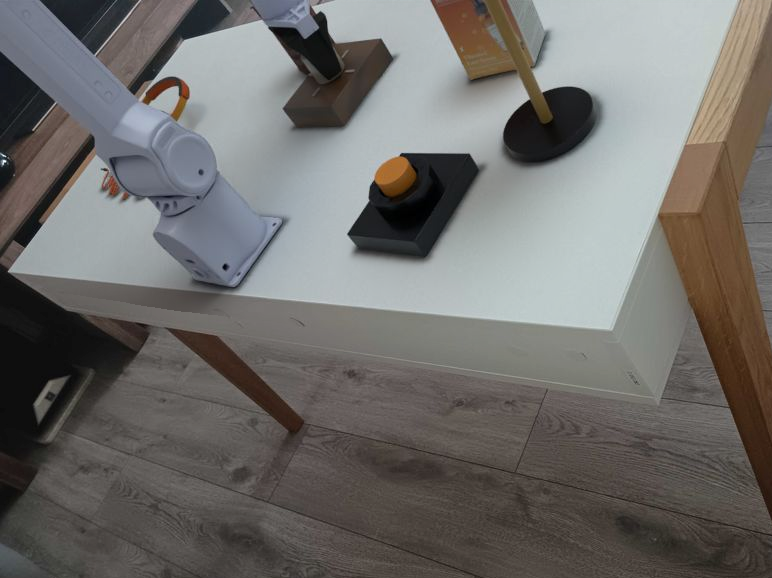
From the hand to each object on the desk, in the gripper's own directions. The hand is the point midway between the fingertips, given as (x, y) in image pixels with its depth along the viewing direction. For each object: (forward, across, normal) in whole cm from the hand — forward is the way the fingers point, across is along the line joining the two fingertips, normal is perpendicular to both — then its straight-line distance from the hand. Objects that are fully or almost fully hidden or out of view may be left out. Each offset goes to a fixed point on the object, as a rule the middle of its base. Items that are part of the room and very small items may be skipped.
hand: (328, 69), depth 92 cm
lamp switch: (0, -30, +4) cm, 30 cm away
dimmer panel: (+4, 0, 0) cm, 4 cm away
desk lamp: (+4, -33, -11) cm, 35 cm away
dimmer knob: (+1, 0, 0) cm, 1 cm away
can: (+4, +12, -1) cm, 13 cm away
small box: (+4, -18, -15) cm, 24 cm away
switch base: (+4, -30, +4) cm, 30 cm away
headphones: (+4, +24, +25) cm, 35 cm away
